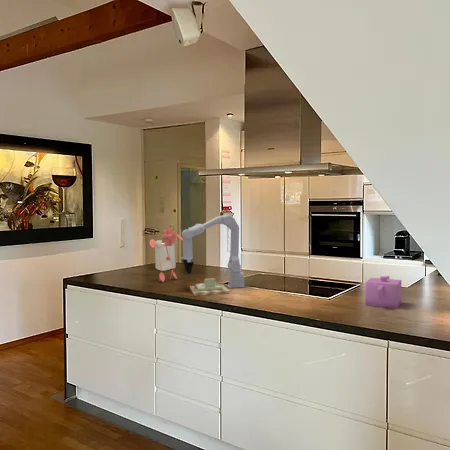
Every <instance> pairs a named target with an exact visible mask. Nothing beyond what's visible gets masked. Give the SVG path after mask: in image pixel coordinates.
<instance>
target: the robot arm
mask: <svg viewBox="0 0 450 450" xmlns="http://www.w3.org/2000/svg"><path fill="white" fill-rule="evenodd" d="M215 225H224V226H226V227H227V228H228V229H229V230H230V250H229V254H230V256H229V261H228V262H227V268H228V271H227V272H228V273H227V274H228V278H227V279H228V284H226V287H228V289H233V288H234V289H235V288H245V286H246V285H245V273H244V272H243V271H241V268H242V267H241V264H240V258H239V252H240V249H239V248H240V247H239V246H240V245H239V244H240V226H239V224H238V223H237V221H236V219H235V218H234V217H233V216H232V215H230V214H226V213H225V214H222V215H218V216H216V217H213V218H212V219H210V220H208V221H206V222H204V223H203V224H202V223H195V224H194V225H193V226H189V227H188V229H184V230H183V231H182V232H181V237H182V238H183V241H182V256H181V257H180V259H181V260H182V262H183V265H184V271H185V272H186V274H188V275H191V273H192V269H193V266H194V263H195V262H194V261H193V259H194V256H193V254H194V252H193V237H196V236H198V235H200V234H203V233H205V230H206V229H208V228H211V227H213V226H215Z"/></svg>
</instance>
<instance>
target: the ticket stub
mask: <svg viewBox="0 0 450 450" xmlns="http://www.w3.org/2000/svg"><path fill="white" fill-rule="evenodd" d="M204 283H205V286H202V287H197V289H198V291H200V290H217V289H222V286H221V285H219V286H215V283H216V277H215V278H213V277H211V278H204Z"/></svg>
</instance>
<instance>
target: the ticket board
mask: <svg viewBox="0 0 450 450" xmlns="http://www.w3.org/2000/svg"><path fill="white" fill-rule="evenodd" d="M219 285H221V286H222V289H217V290H200V291H198V289H197V287H202V286H205V282H203V283H194V285H189V289H190V292H191V293H192V295H193V296H194V297H196V296H197V297H198V296H200V297H201V296H210V295H211V296H214V295H226V294H227V295H229V294H230V290H229V288H227V286H225V285H224V284H223V283H221V284H220V283H219V282H215V286H219Z"/></svg>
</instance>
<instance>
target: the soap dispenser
mask: <svg viewBox="0 0 450 450" xmlns="http://www.w3.org/2000/svg"><path fill="white" fill-rule="evenodd" d="M155 242H156V245H157V246H158V247H160V246H162V245H164V244H165V243H162V239H157V240H155ZM156 245H155V246H154V264H155V265H154V267H155V270H158V271H161V269H162V272H164V271H168V270H172V262H173V270H174V269H176V265H177V264H176V262H177V261H176V260H177V259H176V242H175V243H174V244H172V245H171V246H169V245H168V246H167V249H168V253H167V249H166V246H165V245H164V246H162V247H160V248H157V246H156ZM168 255H169V257H170V259H171V260H172V261H171V260H169V261H168V260H166V257H168ZM165 260H166V261H165ZM163 261H164V262H163ZM161 262H162V263H161ZM160 263H161V266H160Z"/></svg>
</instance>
